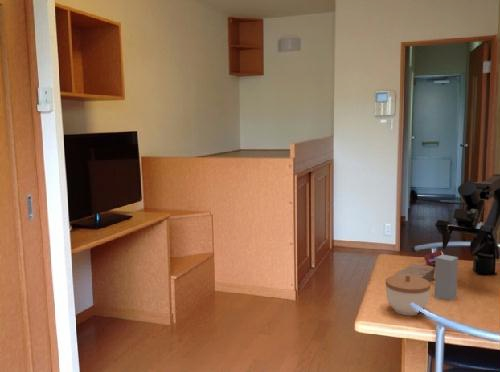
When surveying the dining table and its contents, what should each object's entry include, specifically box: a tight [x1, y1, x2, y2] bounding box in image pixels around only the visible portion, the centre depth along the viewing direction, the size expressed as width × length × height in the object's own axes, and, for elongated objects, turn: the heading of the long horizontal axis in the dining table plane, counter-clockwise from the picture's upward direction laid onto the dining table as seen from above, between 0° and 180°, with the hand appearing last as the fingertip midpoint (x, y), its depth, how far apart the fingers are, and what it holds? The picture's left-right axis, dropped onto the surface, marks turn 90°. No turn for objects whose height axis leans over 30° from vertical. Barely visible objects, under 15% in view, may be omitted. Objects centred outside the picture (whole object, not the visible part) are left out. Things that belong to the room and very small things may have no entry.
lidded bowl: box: [385, 275, 431, 316], centre depth 140 cm, size 13×13×11 cm
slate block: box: [433, 253, 459, 302], centre depth 150 cm, size 5×5×13 cm
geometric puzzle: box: [423, 248, 445, 266], centre depth 183 cm, size 7×7×8 cm
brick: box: [393, 262, 435, 282], centre depth 165 cm, size 17×8×5 cm, turn 137°
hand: (457, 251), depth 155 cm, fingers open, 9 cm apart
